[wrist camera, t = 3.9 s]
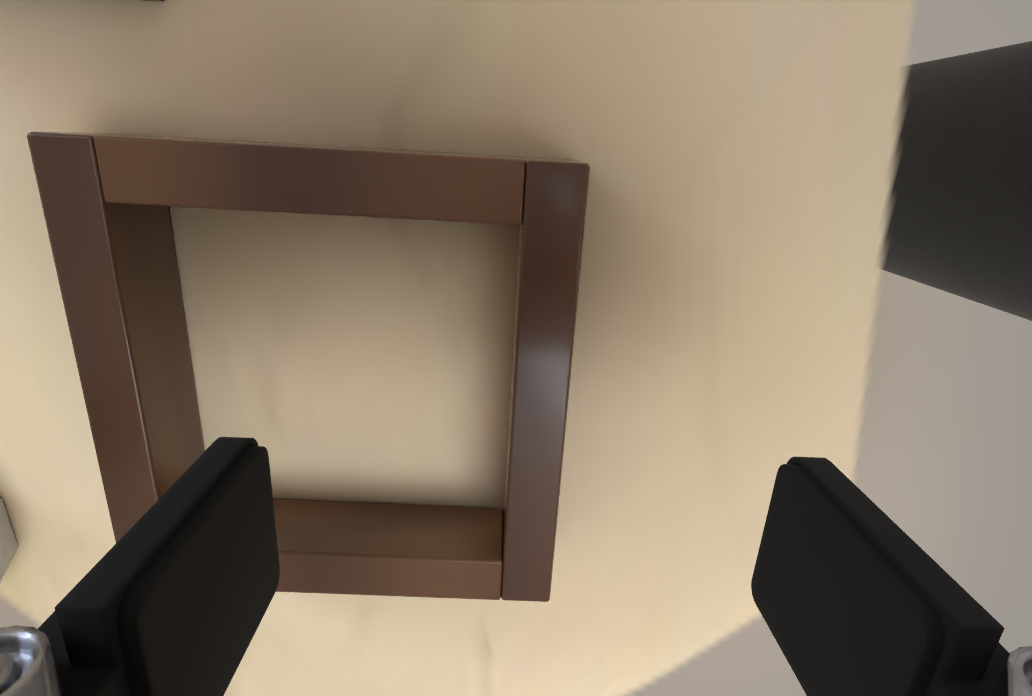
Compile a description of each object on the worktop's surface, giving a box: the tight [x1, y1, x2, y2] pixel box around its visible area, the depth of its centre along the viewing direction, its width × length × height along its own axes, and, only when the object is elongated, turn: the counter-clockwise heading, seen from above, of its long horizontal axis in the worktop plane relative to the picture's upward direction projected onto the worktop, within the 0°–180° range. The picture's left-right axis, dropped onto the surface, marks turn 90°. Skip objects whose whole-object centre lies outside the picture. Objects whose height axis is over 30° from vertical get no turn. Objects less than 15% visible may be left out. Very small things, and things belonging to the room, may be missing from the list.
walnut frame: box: [27, 132, 590, 602], centre depth 15 cm, size 12×12×2 cm
